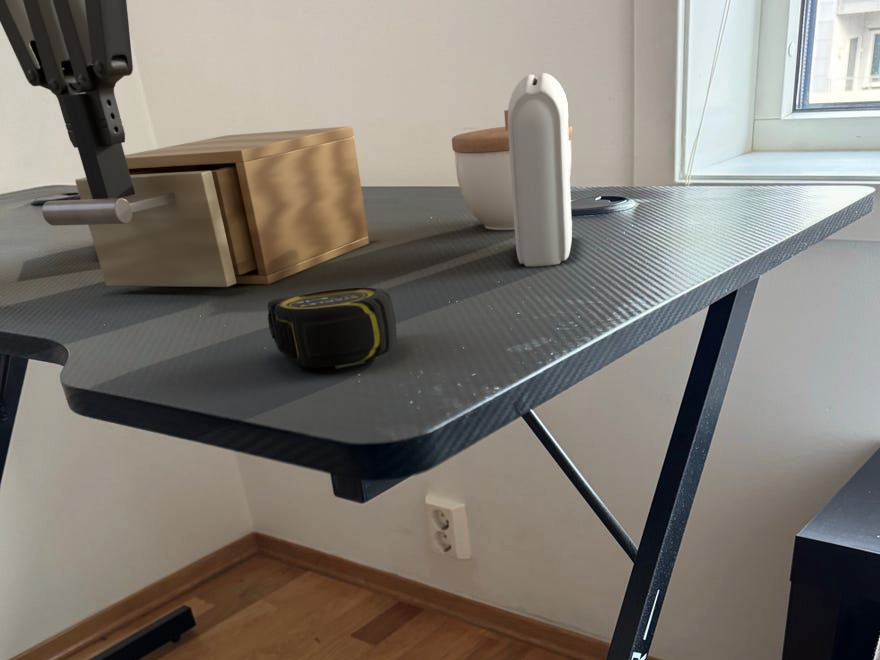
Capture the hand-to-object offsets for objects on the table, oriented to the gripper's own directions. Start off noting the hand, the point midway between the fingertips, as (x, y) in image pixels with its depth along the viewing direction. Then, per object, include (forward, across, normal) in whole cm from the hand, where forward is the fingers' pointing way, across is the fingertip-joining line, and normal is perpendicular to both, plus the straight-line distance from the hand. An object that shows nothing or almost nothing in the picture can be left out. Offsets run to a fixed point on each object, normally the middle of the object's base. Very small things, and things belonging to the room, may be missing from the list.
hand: (114, 197), depth 67 cm
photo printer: (+8, -26, -18) cm, 32 cm away
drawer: (+7, 0, -7) cm, 10 cm away
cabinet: (+8, 0, -15) cm, 17 cm away
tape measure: (+8, -24, +10) cm, 27 cm away
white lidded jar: (+8, -18, -31) cm, 36 cm away
